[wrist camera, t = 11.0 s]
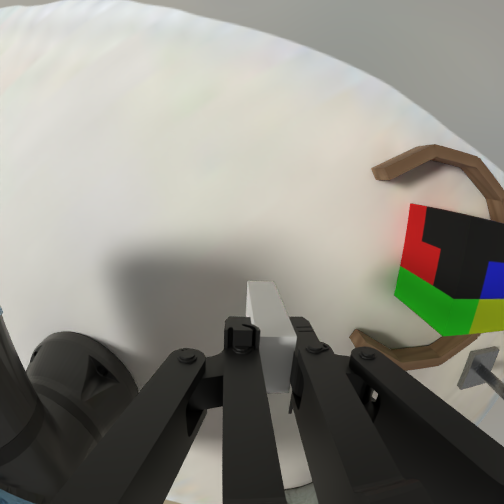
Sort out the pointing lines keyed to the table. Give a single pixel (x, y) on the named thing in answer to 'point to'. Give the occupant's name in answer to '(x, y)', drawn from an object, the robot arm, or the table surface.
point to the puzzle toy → (453, 271)
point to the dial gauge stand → (481, 371)
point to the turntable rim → (500, 209)
